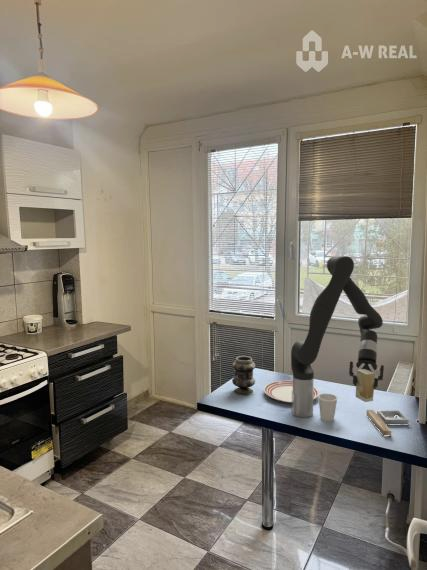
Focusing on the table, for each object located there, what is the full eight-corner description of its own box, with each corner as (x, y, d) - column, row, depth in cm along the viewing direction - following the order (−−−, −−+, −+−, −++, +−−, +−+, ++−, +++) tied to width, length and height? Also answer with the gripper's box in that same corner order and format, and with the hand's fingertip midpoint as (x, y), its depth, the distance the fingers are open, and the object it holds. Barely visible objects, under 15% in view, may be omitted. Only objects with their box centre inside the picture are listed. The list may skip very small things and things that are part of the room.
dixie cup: (320, 422, 170) (321, 400, 169) (315, 414, 178) (315, 393, 177) (339, 422, 170) (340, 400, 169) (333, 414, 178) (334, 393, 177)
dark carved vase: (259, 393, 204) (259, 359, 202) (239, 397, 198) (239, 362, 196) (247, 385, 215) (247, 353, 213) (228, 389, 209) (228, 356, 207)
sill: (383, 436, 157) (383, 430, 157) (366, 415, 177) (366, 409, 177) (391, 436, 157) (391, 431, 157) (373, 415, 177) (373, 409, 177)
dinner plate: (324, 407, 187) (325, 400, 186) (267, 407, 187) (267, 400, 187) (311, 386, 214) (311, 380, 213) (261, 386, 214) (261, 380, 214)
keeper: (385, 425, 167) (385, 419, 167) (377, 415, 177) (377, 410, 177) (408, 425, 167) (408, 420, 167) (398, 415, 177) (399, 410, 176)
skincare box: (355, 397, 169) (356, 369, 167) (363, 395, 170) (364, 368, 169) (365, 402, 163) (366, 374, 161) (373, 401, 164) (375, 373, 163)
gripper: (350, 346, 174) (346, 380, 165) (385, 349, 168) (383, 385, 159) (350, 354, 179) (347, 388, 170) (385, 358, 173) (383, 393, 164)
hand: (364, 386), depth 164 cm, fingers closed on skincare box, 7 cm apart
